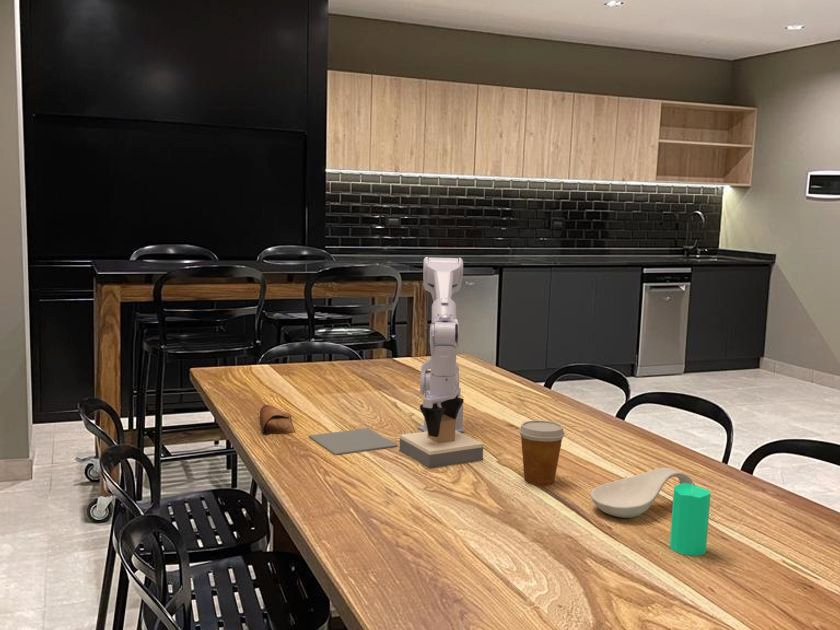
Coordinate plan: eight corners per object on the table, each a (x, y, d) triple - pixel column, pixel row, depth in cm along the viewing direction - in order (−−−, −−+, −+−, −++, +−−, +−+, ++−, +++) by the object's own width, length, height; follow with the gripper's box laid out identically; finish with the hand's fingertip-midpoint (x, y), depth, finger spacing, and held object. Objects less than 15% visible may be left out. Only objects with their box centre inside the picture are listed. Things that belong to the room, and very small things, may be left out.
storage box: (450, 443, 201) (451, 431, 201) (482, 459, 189) (483, 447, 188) (399, 450, 194) (399, 438, 194) (429, 468, 182) (429, 454, 182)
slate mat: (367, 429, 211) (367, 428, 211) (397, 446, 197) (397, 445, 197) (308, 437, 203) (308, 435, 203) (335, 455, 189) (335, 453, 189)
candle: (664, 541, 146) (669, 475, 144) (697, 541, 146) (702, 475, 145) (677, 555, 140) (682, 487, 138) (712, 555, 140) (717, 487, 139)
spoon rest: (618, 529, 151) (620, 491, 150) (577, 507, 162) (579, 472, 161) (711, 509, 163) (714, 474, 162) (667, 490, 173) (669, 457, 172)
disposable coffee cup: (565, 477, 179) (568, 422, 177) (557, 491, 170) (560, 434, 168) (521, 471, 182) (524, 417, 180) (512, 484, 173) (514, 428, 171)
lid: (451, 431, 201) (451, 408, 200) (483, 447, 188) (484, 422, 188) (399, 438, 194) (400, 414, 193) (429, 454, 182) (430, 429, 181)
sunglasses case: (297, 433, 206) (284, 411, 204) (273, 448, 205) (259, 426, 203) (291, 415, 223) (278, 394, 221) (268, 428, 222) (255, 408, 221)
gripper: (442, 367, 197) (440, 422, 199) (411, 377, 185) (410, 436, 186) (469, 370, 194) (467, 427, 196) (439, 381, 181) (437, 442, 183)
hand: (441, 432), depth 191 cm, fingers open, 7 cm apart
